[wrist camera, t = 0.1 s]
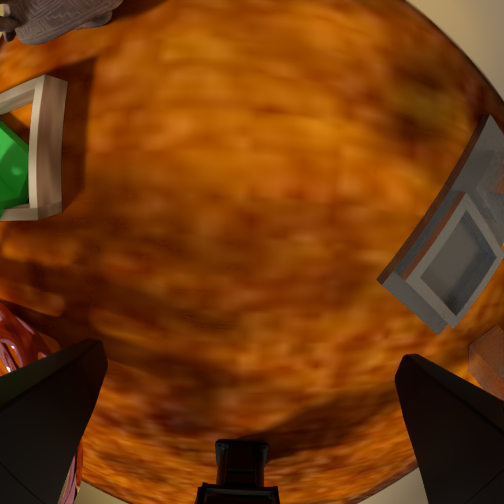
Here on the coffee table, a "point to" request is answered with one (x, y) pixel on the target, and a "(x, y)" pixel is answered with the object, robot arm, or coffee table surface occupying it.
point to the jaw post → (488, 361)
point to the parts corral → (40, 145)
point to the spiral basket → (27, 349)
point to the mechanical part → (13, 169)
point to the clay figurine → (52, 18)
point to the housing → (455, 237)
